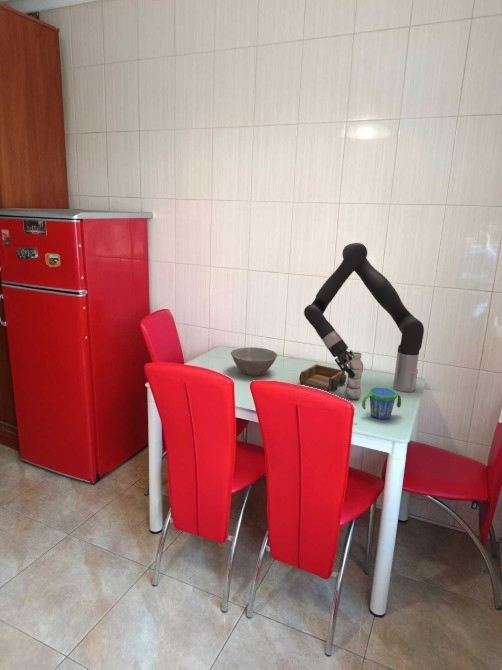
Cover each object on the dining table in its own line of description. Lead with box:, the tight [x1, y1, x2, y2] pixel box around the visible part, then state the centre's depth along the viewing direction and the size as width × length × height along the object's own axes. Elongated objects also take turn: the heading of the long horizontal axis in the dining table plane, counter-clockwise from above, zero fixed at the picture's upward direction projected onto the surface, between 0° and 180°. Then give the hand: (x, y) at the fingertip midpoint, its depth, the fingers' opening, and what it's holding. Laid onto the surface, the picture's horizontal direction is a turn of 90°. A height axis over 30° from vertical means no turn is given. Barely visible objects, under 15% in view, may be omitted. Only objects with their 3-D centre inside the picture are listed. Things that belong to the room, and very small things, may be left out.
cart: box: [298, 363, 347, 393], centre depth 213 cm, size 20×17×6 cm
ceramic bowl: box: [230, 346, 278, 377], centre depth 225 cm, size 22×23×10 cm
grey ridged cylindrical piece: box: [344, 351, 364, 400], centre depth 197 cm, size 6×7×20 cm
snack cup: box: [361, 386, 402, 420], centre depth 181 cm, size 16×10×10 cm
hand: (357, 374), depth 196 cm, fingers open, 8 cm apart
